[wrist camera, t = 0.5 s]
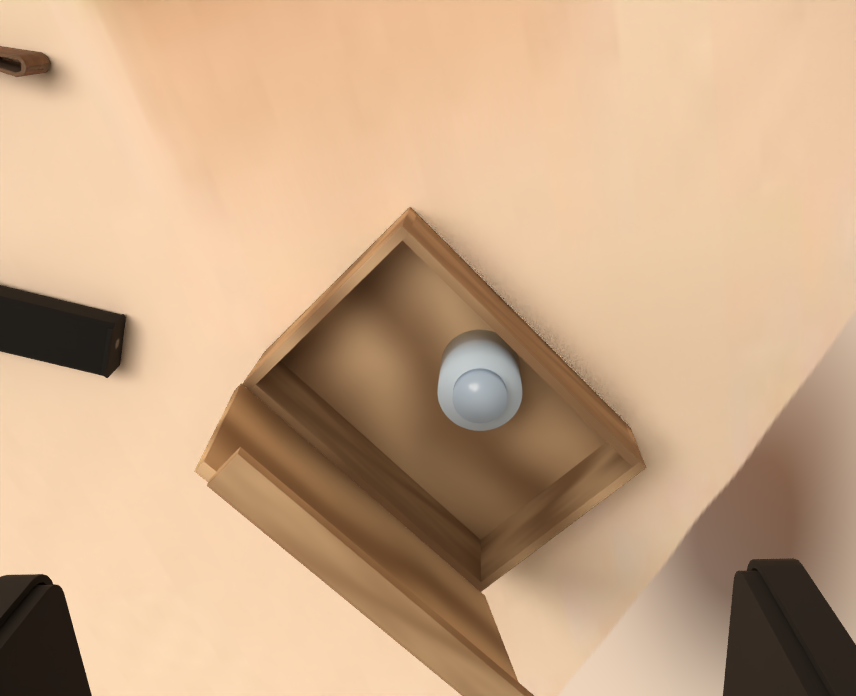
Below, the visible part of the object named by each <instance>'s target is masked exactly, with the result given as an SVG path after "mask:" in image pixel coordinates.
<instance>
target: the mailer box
mask: <svg viewBox="0 0 856 696" xmlns="http://www.w3.org/2000/svg"><path fill="white" fill-rule="evenodd" d="M479 329H482V330H489V331H493V332H496V333H497V334H498V335H499V336H500V337H501V338H502V339H503V340H504V341H505V342H506V343H507V344H508V345H509V346H510V347H511V348H512V349H513V350H514V351H515V352H516V353H517V356H518V361H519V368H520V376H521V383H522V400H521V404H520V406H519V409H518V410H517V412H516V414H515V415H514V416H513V417H512V418H511V419H510V420H509V421H508V422H506V423H505V424H503V425H502V426H500V427H497V428H495V429H491V430H486V431H474V430H469V429H466V428H463V427H461V426H458V425H457V424H455V423H454V422H452V421H451V420H450V419H449V418H448V417H447V416H446V415H445V413H444V412H443V410H442V408H441V407H440V404H439V400H438V393H437V392H438V381H439V373H440V364H441V358H442V354H443V352H444V350H445V348H446V346H447V345H448V344H449V343H450V342H451V340H453V339H454V338H455V337H456V336H458V335H460V334H462V333H464V332H467V331H470V330H479ZM243 385H244V386H245V387H246V388H247V389H248V390H249V391H251V392H252V393H253V394H254V395H255V396H256V397H257V398H259V399H260V400H261V401H262V402H263V403H264V404H265V405H267V406H268V407H269V408H270V409H271V410H272V411H273V412H275V413H276V414H277V415H278V416H279V417H280V418H282V419H283V420H284V421H285V422H286V423H287V424H288V425H290V426H291V427H292V428H293V429H294V430H295V431H296V432H298V433H299V434H300V435H301V436H302V437H303V438H304V439H306V440H307V441H308V442H309V443H310V444H311V445H312V446H314V447H315V448H316V449H317V450H318V451H319V452H321V453H322V454H323V455H324V456H325V457H326V458H327V459H329V460H330V461H331V462H332V463H333V464H334V465H335V466H337V467H338V468H339V469H340V470H341V471H342V472H343V473H345V474H346V475H347V476H348V477H349V478H350V479H351V480H353V481H354V482H355V483H356V484H357V485H358V486H360V487H361V488H362V489H363V490H364V491H365V492H366V493H368V494H369V495H370V496H371V497H372V498H373V499H374V500H376V501H377V502H378V503H379V504H380V505H381V506H382V507H384V508H385V509H386V510H387V511H388V512H389V513H390V514H392V515H393V516H394V517H395V518H396V519H397V520H398V521H400V522H401V523H402V524H403V525H404V526H405V527H407V528H408V529H409V530H410V531H411V532H412V533H413V534H415V535H416V536H417V537H418V538H419V539H420V540H421V541H423V542H424V543H425V544H426V545H427V546H428V547H429V548H431V549H432V550H433V551H434V552H435V553H436V554H437V555H439V556H440V557H441V558H442V559H443V560H444V561H446V562H447V563H448V564H449V565H450V566H451V567H452V568H454V569H455V570H456V571H457V572H458V573H459V574H460V575H462V576H463V577H464V578H465V579H466V580H467V581H468V582H470V583H471V584H472V585H473V586H474V587H475V588H476V589H478V590H479V591H480V592H481V591H483V590H484V589H485V588H487V587H488V586H489V585H491V584H492V583H493V582H495V581H496V580H497V579H499V578H500V577H501V576H503V575H504V574H505V573H507V572H508V571H509V570H511V569H512V568H513V567H515V566H516V565H517V564H519V563H520V562H521V561H523V560H524V559H525V558H527V557H528V556H529V555H531V554H532V553H533V552H535V551H536V550H537V549H539V548H540V547H541V546H543V545H544V544H545V543H547V542H548V541H549V540H551V539H552V538H553V537H555V536H556V535H557V534H559V533H560V532H561V531H563V530H564V529H565V528H567V527H568V526H569V525H571V524H572V523H573V522H575V521H576V520H577V519H579V518H580V517H581V516H583V515H584V514H585V513H587V512H588V511H589V510H591V509H592V508H593V507H595V506H596V505H597V504H599V503H600V502H601V501H603V500H604V499H605V498H607V497H608V496H609V495H611V494H612V493H613V492H614V491H616V490H617V489H618V488H620V487H621V486H622V485H624V484H625V483H626V482H628V481H629V480H630V479H632V478H633V477H634V476H636V475H637V474H638V473H640V472H641V471H642V470H644V469H645V468H646V466H645V464H644V461H643V459H642V456H641V454H640V451H639V448H638V446H637V443H636V441H635V438H634V436H633V433H632V431H631V428H630V427H629V426H628V425H627V424H626V423H625V422H624V421H623V420H622V419H621V418H620V417H619V416H618V415H617V414H616V413H615V412H614V411H613V410H612V409H611V408H610V407H609V406H608V405H607V404H606V403H605V402H604V401H603V400H602V399H601V398H600V397H599V396H598V395H597V394H596V393H595V392H594V391H593V390H592V389H591V388H590V387H589V386H588V385H587V384H586V383H585V382H584V381H583V380H582V379H581V378H580V377H579V376H578V375H577V374H576V373H575V372H574V371H573V370H572V369H571V368H570V367H569V366H568V365H567V364H566V363H565V362H564V361H563V360H562V359H561V358H560V357H559V356H558V355H557V354H556V353H555V352H554V351H553V350H552V349H551V348H550V347H549V346H548V345H547V344H546V343H545V342H544V341H543V340H542V339H541V338H540V337H539V336H538V335H537V334H536V333H535V332H534V331H533V330H532V329H531V328H530V327H529V326H528V325H527V324H526V323H525V322H524V321H523V320H522V319H521V318H520V317H519V316H518V315H517V314H516V313H515V312H514V311H513V310H512V309H511V308H510V307H509V306H508V305H507V304H506V303H505V302H504V301H503V300H502V299H501V298H500V297H499V296H498V295H497V294H496V293H495V292H494V291H493V290H492V289H491V288H490V287H489V286H488V285H487V284H486V283H485V282H484V281H483V280H482V279H481V278H480V277H479V276H478V275H477V274H476V273H475V272H474V271H473V270H472V269H471V268H470V267H469V266H468V265H467V264H466V263H465V262H464V261H463V260H462V258H461V257H460V256H459V255H458V254H457V253H456V252H455V251H454V250H453V249H452V248H451V247H450V246H449V245H448V244H447V243H446V242H445V241H444V240H443V239H442V238H441V237H440V236H439V235H438V234H437V233H436V232H435V231H434V230H433V229H432V228H431V227H430V226H429V225H428V224H427V223H426V222H425V221H424V220H423V219H422V218H421V217H420V216H419V215H418V214H417V213H416V212H415V211H414V210H413V209H412V208H411V207H409V208H408V209H407V210H406V211H405V212H404V213H403V214H402V215H401V216H400V217H399V218H398V219H397V220H396V221H395V222H394V223H393V224H392V225H391V226H390V227H389V228H388V229H387V230H386V231H385V232H384V233H383V234H382V235H381V236H380V237H379V238H378V239H377V240H376V241H375V242H374V243H373V244H372V245H371V246H370V247H369V248H368V249H367V250H366V251H365V252H364V253H363V254H362V255H361V256H360V257H359V258H358V259H357V260H356V261H355V262H354V263H353V264H352V265H351V266H350V267H349V268H348V269H347V270H346V271H345V272H344V273H343V274H342V275H341V276H340V277H339V278H338V279H337V280H336V281H335V282H334V283H333V284H332V285H331V286H330V287H329V288H328V289H327V290H326V291H325V292H324V293H323V294H322V295H321V296H320V297H319V298H318V299H317V300H316V301H315V302H314V303H313V304H312V305H311V306H310V307H309V308H308V309H307V310H306V311H305V312H304V313H303V314H302V315H301V316H300V317H299V318H298V319H297V320H296V321H295V322H294V323H293V324H292V325H291V326H290V327H289V328H288V329H287V330H286V331H285V332H284V333H283V334H282V335H281V336H280V337H279V338H278V339H277V340H276V341H275V342H274V343H273V344H272V345H271V346H270V347H269V348H268V349H267V350H266V351H265V352H264V353H263V355H262V356H261V358H260V359H259V361H258V362H257V364H256V365H255V366H254V368H253V369H252V371H251V372H250V374H249V375H248V377H247V378H246V380H245V381H244V382H243Z"/></svg>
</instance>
